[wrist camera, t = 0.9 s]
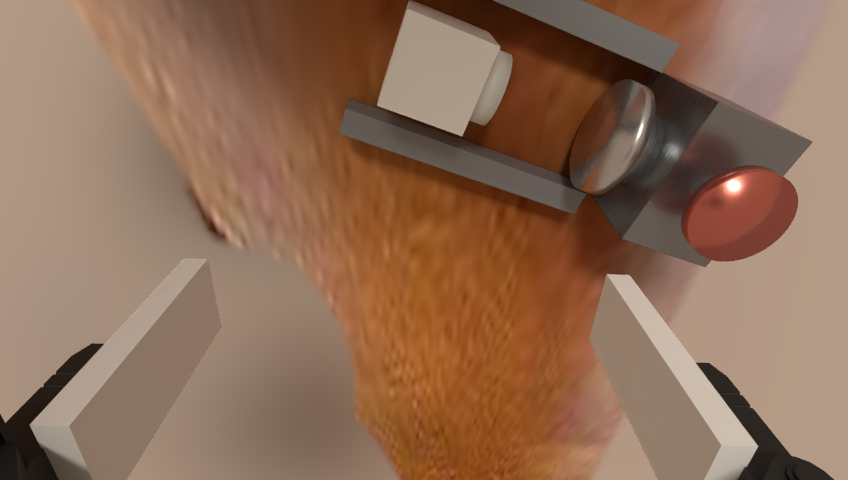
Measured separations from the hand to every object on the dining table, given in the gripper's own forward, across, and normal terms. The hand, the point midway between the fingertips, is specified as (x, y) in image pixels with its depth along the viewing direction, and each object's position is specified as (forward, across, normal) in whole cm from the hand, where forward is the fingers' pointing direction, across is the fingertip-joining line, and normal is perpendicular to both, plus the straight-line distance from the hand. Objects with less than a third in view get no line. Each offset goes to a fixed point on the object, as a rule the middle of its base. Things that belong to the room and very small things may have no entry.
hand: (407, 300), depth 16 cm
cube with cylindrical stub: (+23, +1, +5) cm, 24 cm away
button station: (+24, +18, 0) cm, 30 cm away
